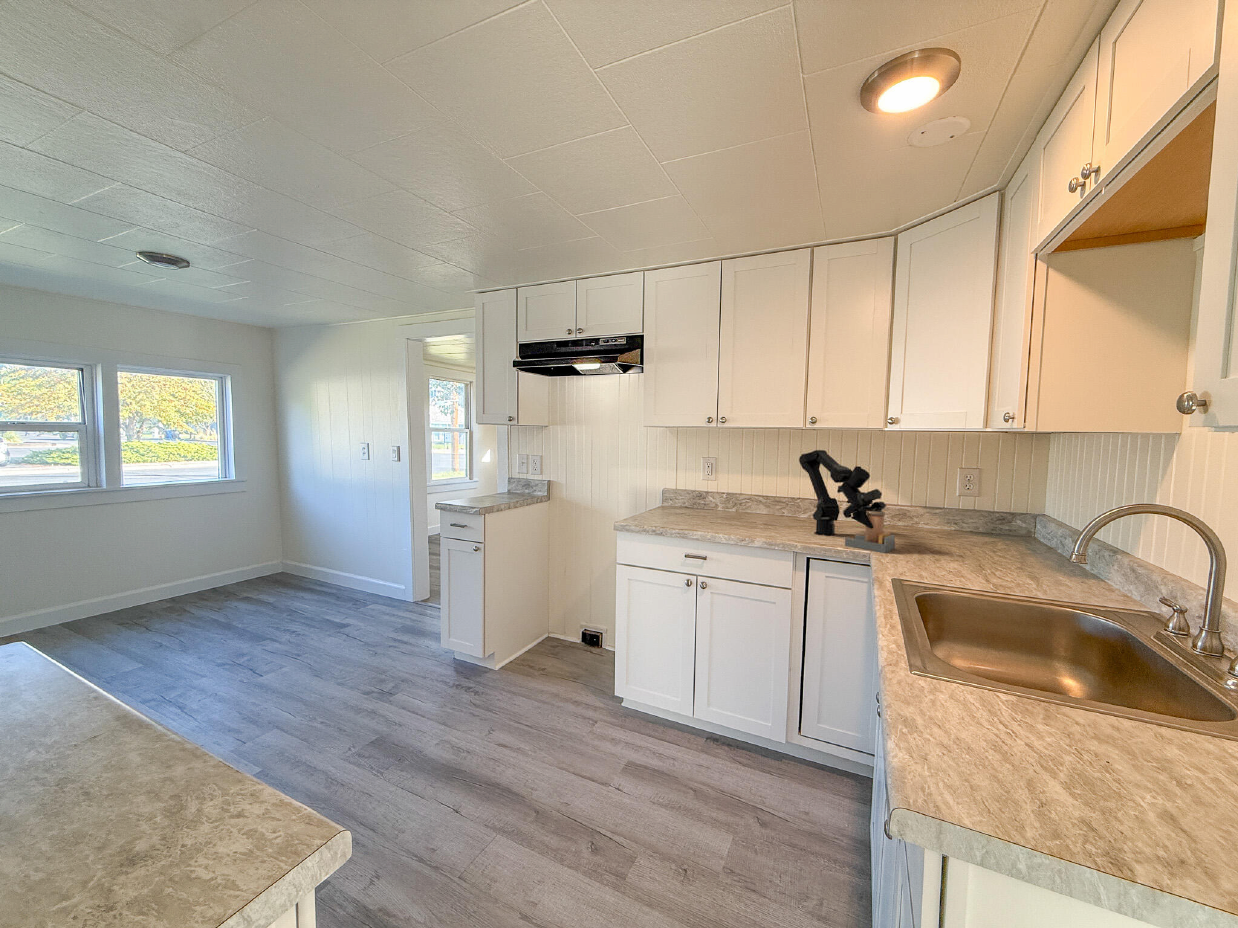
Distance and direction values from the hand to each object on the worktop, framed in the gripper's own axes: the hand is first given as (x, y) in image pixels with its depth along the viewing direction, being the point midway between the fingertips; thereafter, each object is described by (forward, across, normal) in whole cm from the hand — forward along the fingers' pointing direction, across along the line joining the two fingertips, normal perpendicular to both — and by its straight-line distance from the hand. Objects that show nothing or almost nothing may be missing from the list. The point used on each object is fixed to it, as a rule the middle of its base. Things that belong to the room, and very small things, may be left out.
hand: (877, 527), depth 185 cm
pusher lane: (+4, 0, +8) cm, 9 cm away
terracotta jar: (+4, 0, +6) cm, 7 cm away
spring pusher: (+7, +1, +4) cm, 8 cm away
